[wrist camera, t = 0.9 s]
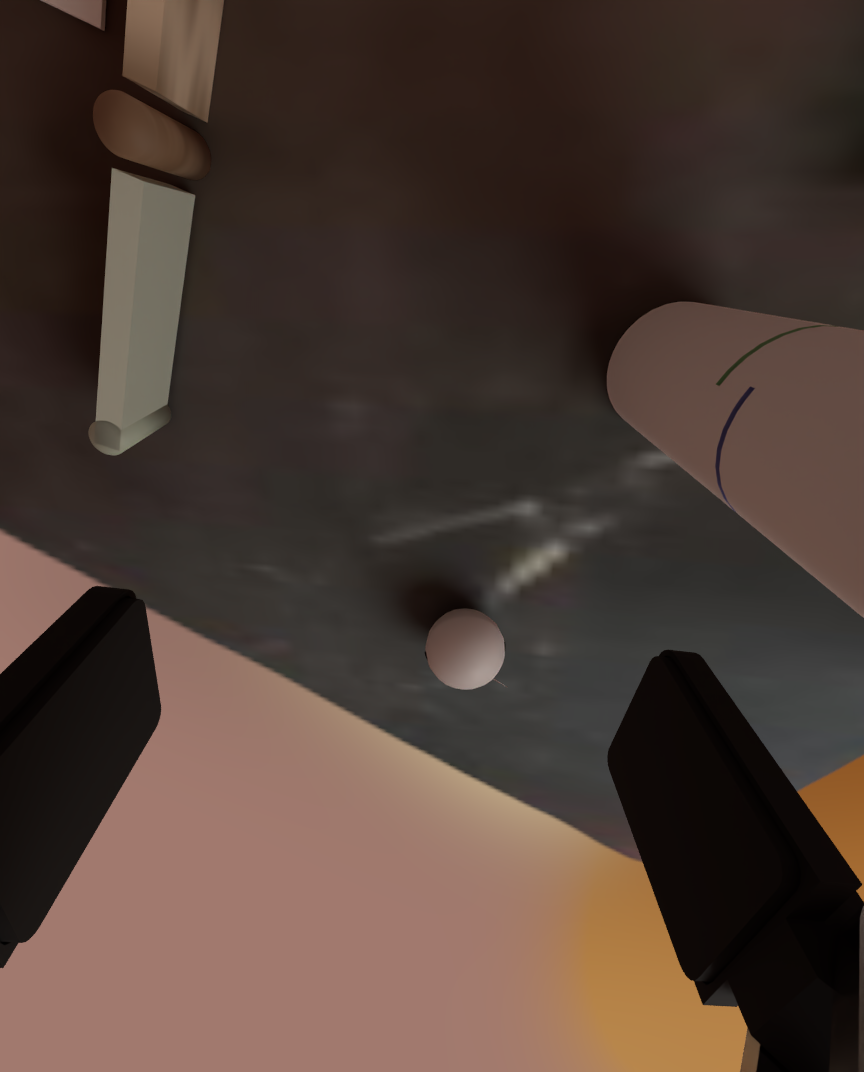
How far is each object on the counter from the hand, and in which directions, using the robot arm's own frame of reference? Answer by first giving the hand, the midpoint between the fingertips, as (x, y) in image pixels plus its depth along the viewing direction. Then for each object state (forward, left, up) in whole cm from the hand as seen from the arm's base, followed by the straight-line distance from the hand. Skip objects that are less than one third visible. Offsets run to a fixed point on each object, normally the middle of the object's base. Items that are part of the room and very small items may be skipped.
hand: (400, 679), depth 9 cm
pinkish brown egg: (+15, +10, -23) cm, 29 cm away
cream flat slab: (+1, -14, -22) cm, 26 cm away
